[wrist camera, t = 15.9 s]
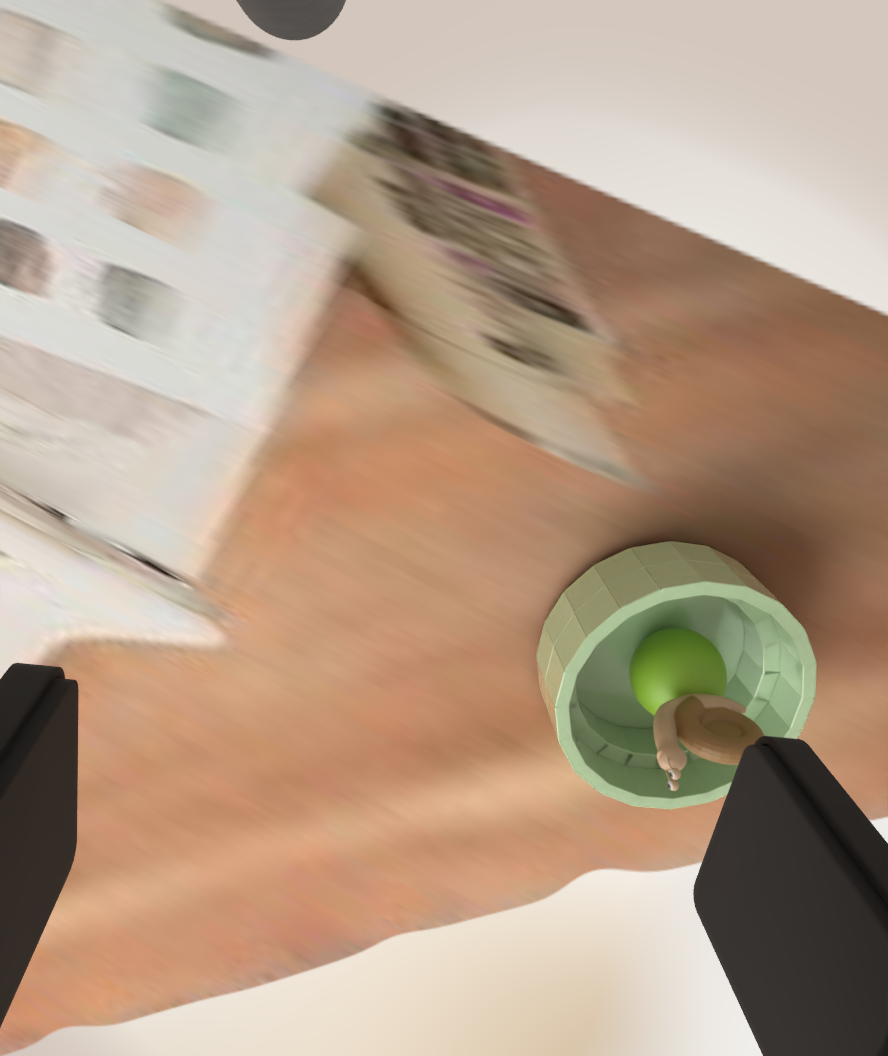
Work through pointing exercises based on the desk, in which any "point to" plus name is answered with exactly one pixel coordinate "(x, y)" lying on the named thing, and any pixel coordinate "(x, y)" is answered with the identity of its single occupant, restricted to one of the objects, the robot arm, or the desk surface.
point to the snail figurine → (689, 700)
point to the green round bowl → (617, 630)
